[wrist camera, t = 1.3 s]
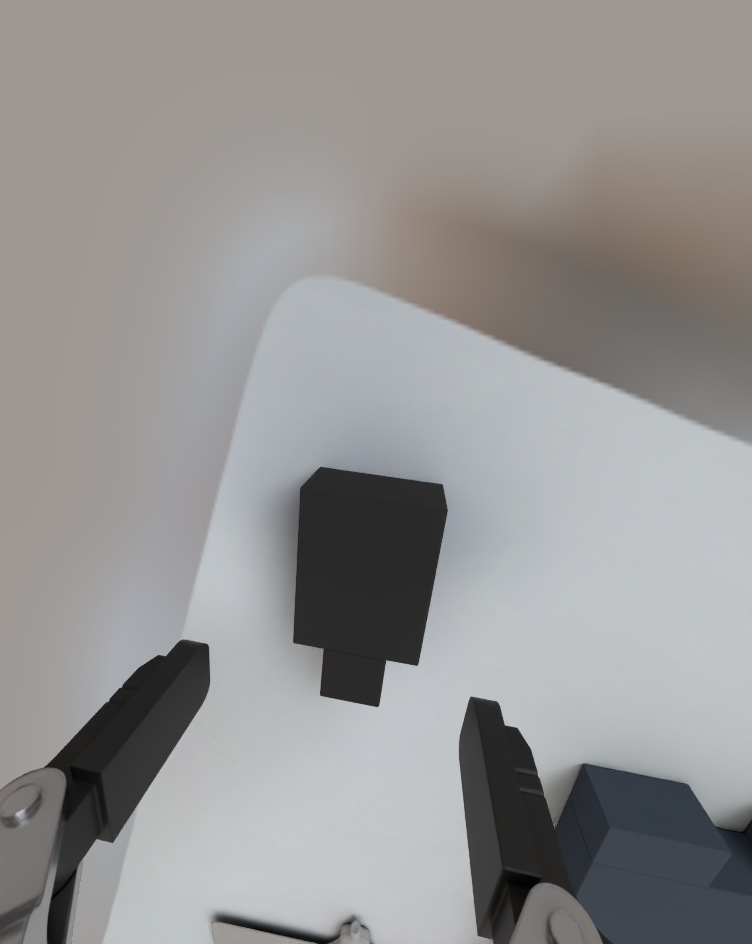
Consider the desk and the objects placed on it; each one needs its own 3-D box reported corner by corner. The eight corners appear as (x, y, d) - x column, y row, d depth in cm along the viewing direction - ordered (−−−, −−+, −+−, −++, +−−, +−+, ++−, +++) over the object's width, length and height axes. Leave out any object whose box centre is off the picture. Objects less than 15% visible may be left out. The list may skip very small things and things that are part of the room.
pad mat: (583, 763, 20) (609, 827, 18) (880, 822, 19) (960, 901, 16) (506, 941, 27) (517, 1011, 24) (728, 995, 25) (767, 1075, 23)
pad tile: (320, 466, 17) (300, 487, 14) (443, 484, 16) (448, 509, 14) (308, 645, 20) (290, 690, 17) (410, 664, 20) (409, 713, 17)
